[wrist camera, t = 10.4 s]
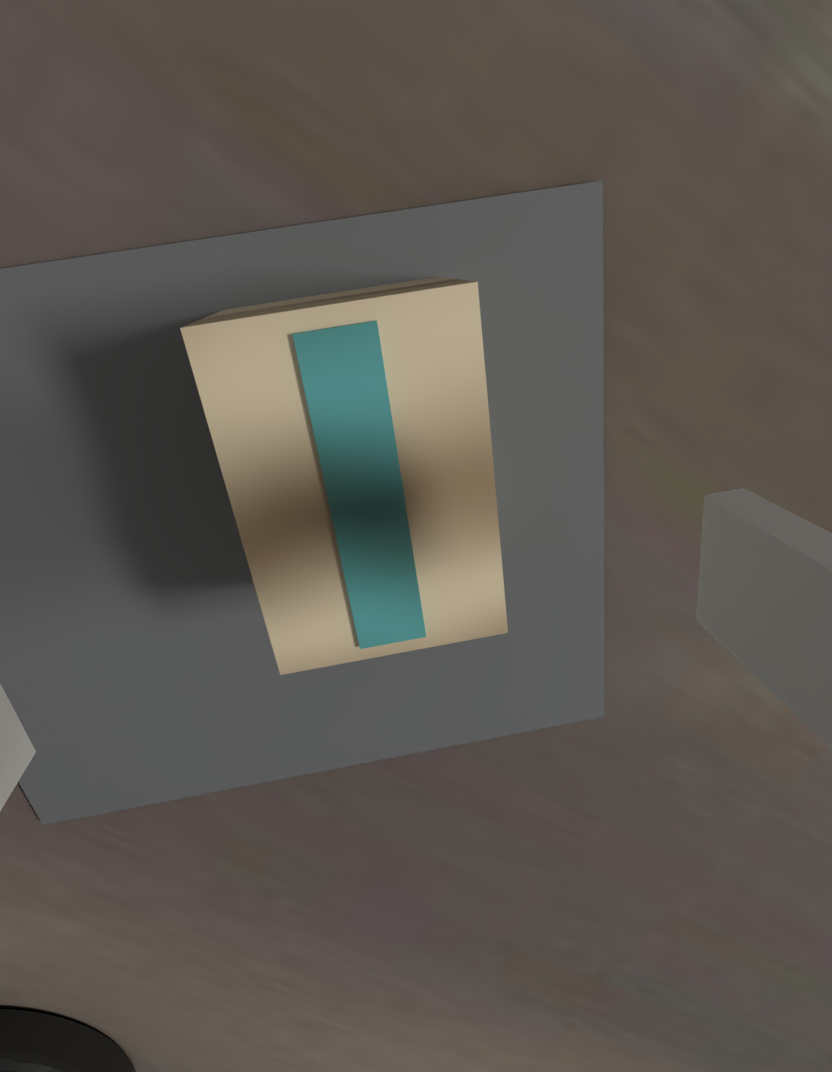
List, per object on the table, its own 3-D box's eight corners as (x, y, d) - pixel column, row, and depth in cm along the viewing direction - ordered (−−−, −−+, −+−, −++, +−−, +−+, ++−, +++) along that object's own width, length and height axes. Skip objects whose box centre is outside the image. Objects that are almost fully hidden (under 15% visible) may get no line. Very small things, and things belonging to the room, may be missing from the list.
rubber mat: (45, 819, 27) (43, 825, 27) (-244, 305, 18) (-253, 305, 18) (602, 712, 29) (604, 716, 28) (599, 181, 19) (602, 180, 19)
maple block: (224, 309, 19) (178, 328, 14) (438, 276, 20) (478, 281, 14) (293, 580, 24) (280, 678, 18) (469, 548, 24) (509, 635, 18)
